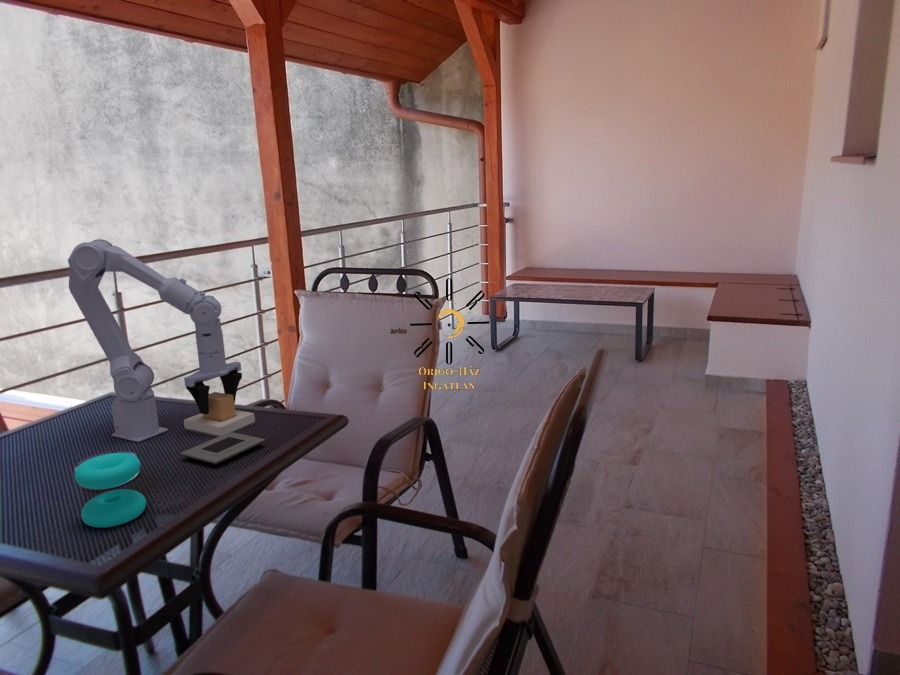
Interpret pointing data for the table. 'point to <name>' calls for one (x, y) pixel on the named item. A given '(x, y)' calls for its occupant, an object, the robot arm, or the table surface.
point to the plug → (220, 407)
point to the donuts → (114, 503)
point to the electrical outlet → (222, 448)
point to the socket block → (219, 424)
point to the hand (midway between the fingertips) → (217, 408)
